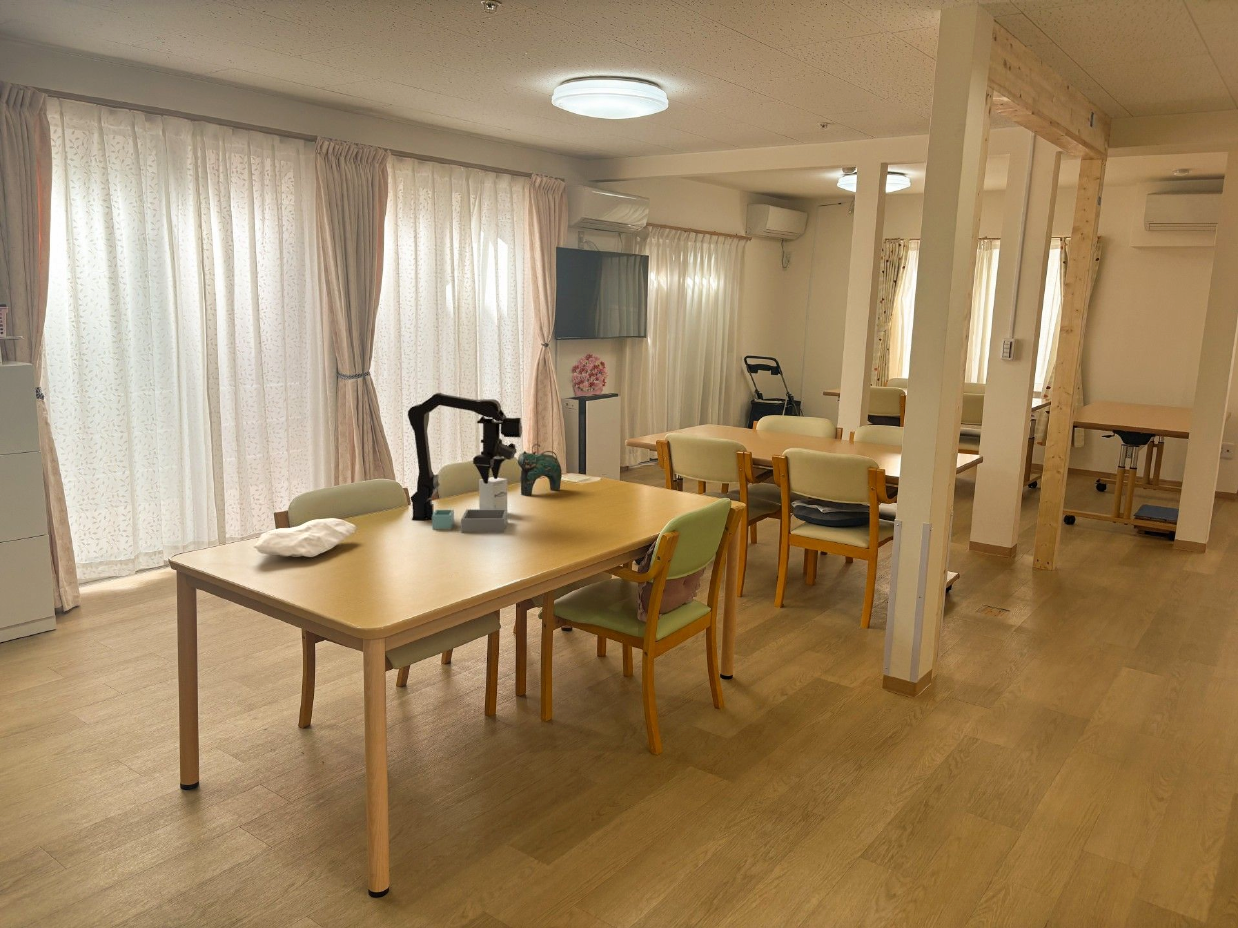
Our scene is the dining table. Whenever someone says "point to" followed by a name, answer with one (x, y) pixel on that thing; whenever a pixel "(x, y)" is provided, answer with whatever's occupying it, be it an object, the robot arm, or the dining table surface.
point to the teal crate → (443, 519)
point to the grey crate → (484, 520)
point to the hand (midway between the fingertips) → (490, 481)
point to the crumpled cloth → (305, 538)
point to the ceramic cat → (539, 470)
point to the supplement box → (493, 494)
